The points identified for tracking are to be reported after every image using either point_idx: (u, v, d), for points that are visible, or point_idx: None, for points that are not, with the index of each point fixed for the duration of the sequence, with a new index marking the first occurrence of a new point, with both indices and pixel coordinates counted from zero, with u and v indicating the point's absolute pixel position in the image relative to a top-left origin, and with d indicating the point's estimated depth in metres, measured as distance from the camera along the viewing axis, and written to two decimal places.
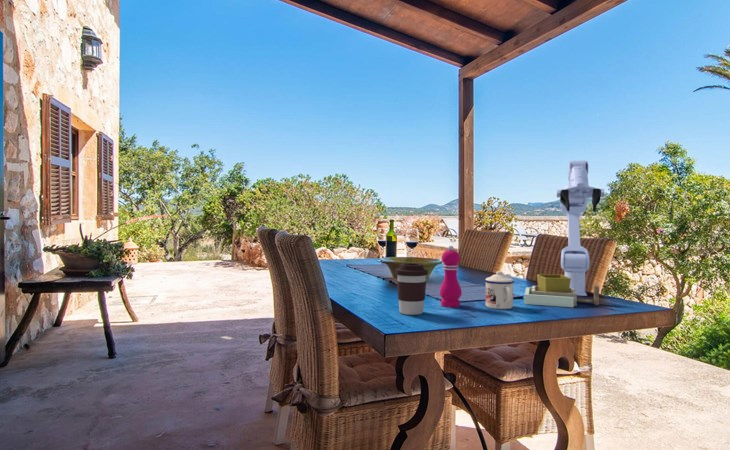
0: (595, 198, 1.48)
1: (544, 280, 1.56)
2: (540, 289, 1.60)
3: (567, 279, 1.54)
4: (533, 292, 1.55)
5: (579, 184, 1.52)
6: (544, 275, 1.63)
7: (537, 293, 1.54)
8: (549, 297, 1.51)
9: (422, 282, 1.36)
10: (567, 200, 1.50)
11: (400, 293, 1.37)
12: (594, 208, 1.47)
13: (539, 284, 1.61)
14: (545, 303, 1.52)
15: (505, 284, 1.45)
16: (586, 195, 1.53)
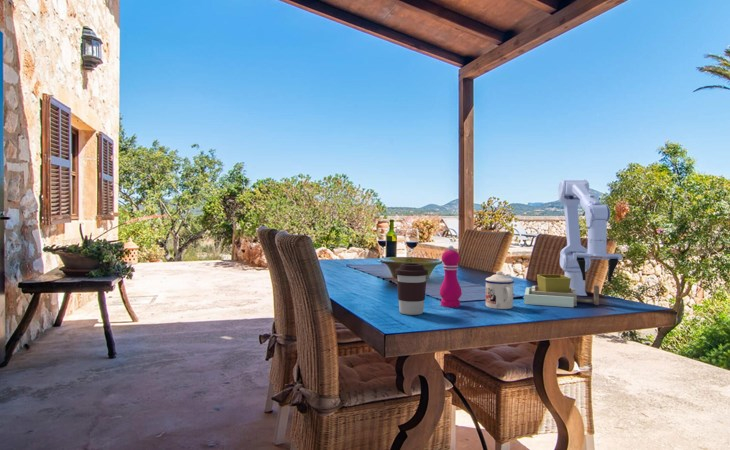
0: (611, 272, 1.51)
1: (544, 280, 1.56)
2: (540, 289, 1.60)
3: (567, 279, 1.54)
4: (533, 292, 1.55)
5: (596, 256, 1.50)
6: (544, 275, 1.63)
7: (537, 293, 1.54)
8: (549, 297, 1.51)
9: (422, 282, 1.36)
10: (583, 272, 1.54)
11: (400, 293, 1.37)
12: (609, 281, 1.52)
13: (539, 284, 1.61)
14: (545, 303, 1.52)
15: (505, 284, 1.45)
16: None
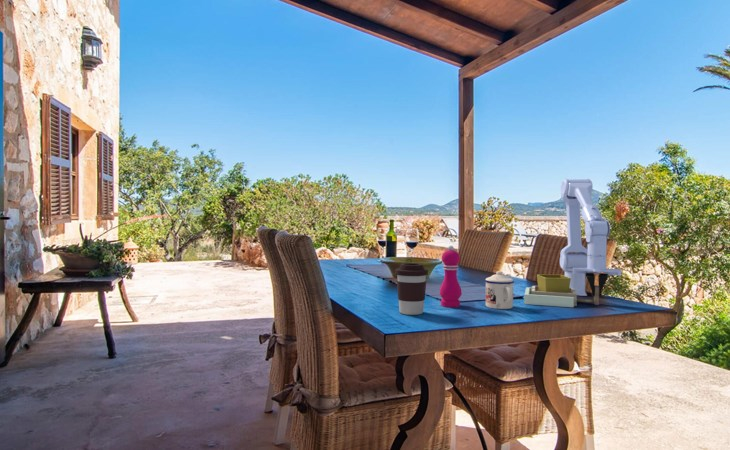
0: (601, 287, 1.52)
1: (544, 280, 1.56)
2: (540, 289, 1.60)
3: (567, 279, 1.54)
4: (533, 292, 1.55)
5: (596, 271, 1.51)
6: (544, 275, 1.63)
7: (537, 293, 1.54)
8: (549, 297, 1.51)
9: (422, 282, 1.36)
10: (593, 288, 1.53)
11: (400, 293, 1.37)
12: None
13: (539, 284, 1.61)
14: (545, 303, 1.52)
15: (505, 284, 1.45)
16: None
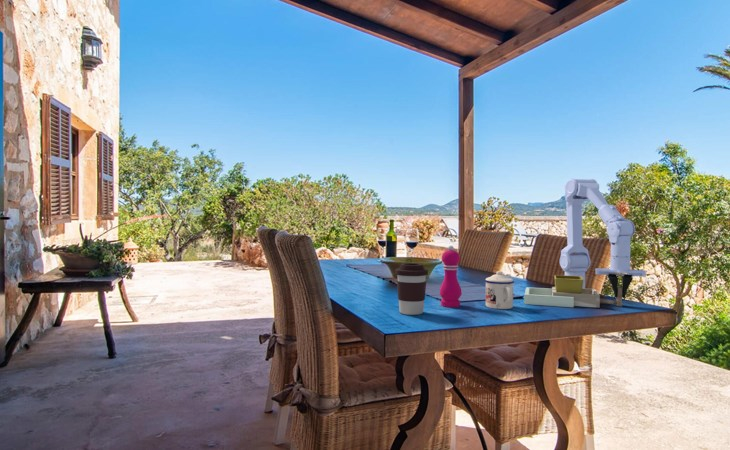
0: (625, 288, 1.49)
1: (555, 280, 1.54)
2: None
3: (579, 280, 1.51)
4: (555, 293, 1.52)
5: (620, 272, 1.48)
6: (562, 276, 1.60)
7: (559, 294, 1.52)
8: (549, 297, 1.51)
9: (422, 282, 1.36)
10: (615, 289, 1.50)
11: (400, 293, 1.37)
12: None
13: (555, 285, 1.59)
14: (545, 303, 1.52)
15: (505, 284, 1.45)
16: None
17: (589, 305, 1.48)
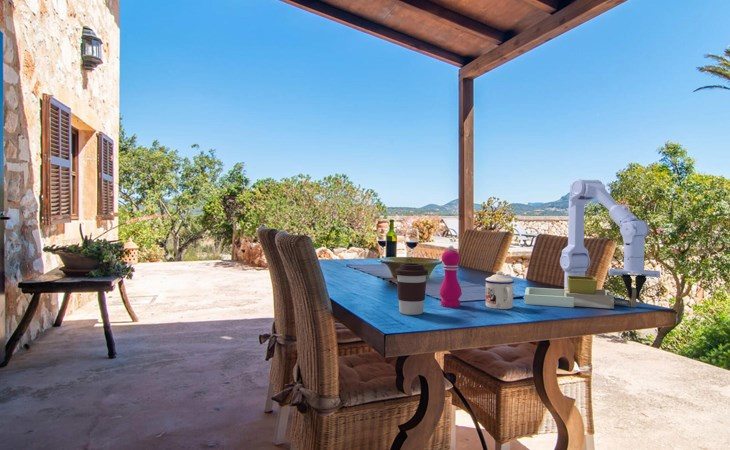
0: (639, 289, 1.48)
1: (568, 281, 1.53)
2: None
3: (593, 281, 1.49)
4: (568, 294, 1.51)
5: None
6: (575, 276, 1.59)
7: (572, 295, 1.50)
8: (549, 297, 1.51)
9: (422, 282, 1.36)
10: (629, 290, 1.49)
11: (400, 293, 1.37)
12: None
13: None
14: (545, 303, 1.52)
15: (505, 284, 1.45)
16: None
17: (603, 306, 1.47)
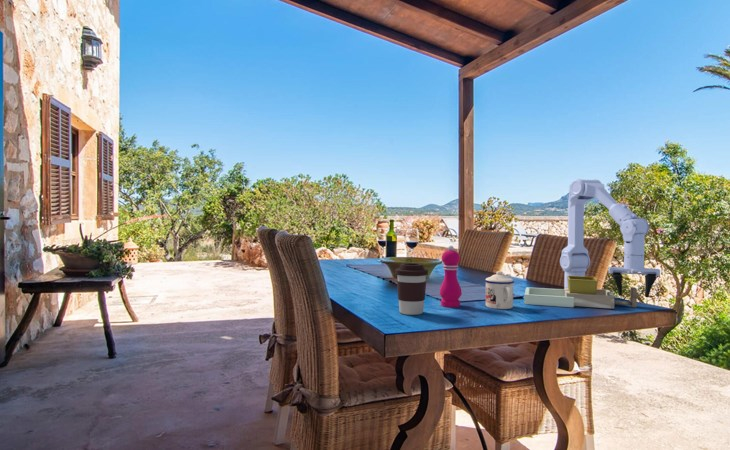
0: (649, 287, 1.47)
1: (568, 281, 1.53)
2: None
3: (593, 281, 1.49)
4: (568, 294, 1.51)
5: None
6: (575, 277, 1.59)
7: (573, 295, 1.50)
8: (549, 297, 1.51)
9: (422, 282, 1.36)
10: (620, 288, 1.50)
11: (400, 293, 1.37)
12: (646, 296, 1.48)
13: (568, 285, 1.58)
14: (545, 303, 1.52)
15: (505, 284, 1.45)
16: None
17: (603, 306, 1.47)
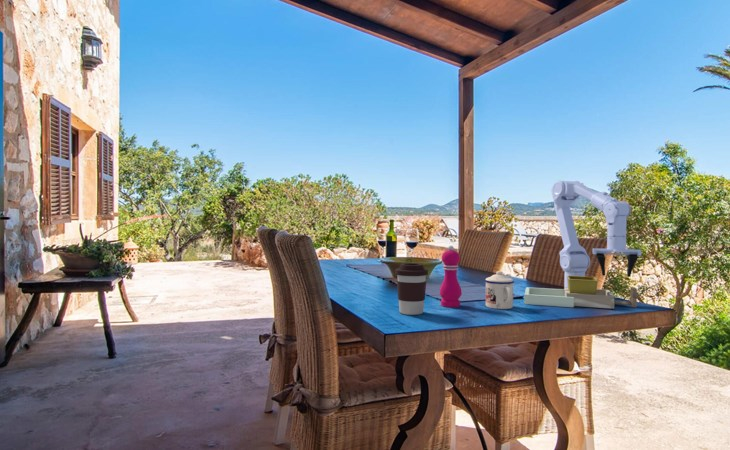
0: (631, 267, 1.53)
1: (568, 281, 1.53)
2: None
3: (593, 281, 1.49)
4: (568, 294, 1.51)
5: (616, 251, 1.53)
6: (575, 277, 1.59)
7: (573, 295, 1.50)
8: (549, 297, 1.51)
9: (422, 282, 1.36)
10: (603, 268, 1.56)
11: (400, 293, 1.37)
12: None
13: (568, 285, 1.58)
14: (545, 303, 1.52)
15: (505, 284, 1.45)
16: (622, 254, 1.55)
17: (603, 306, 1.47)
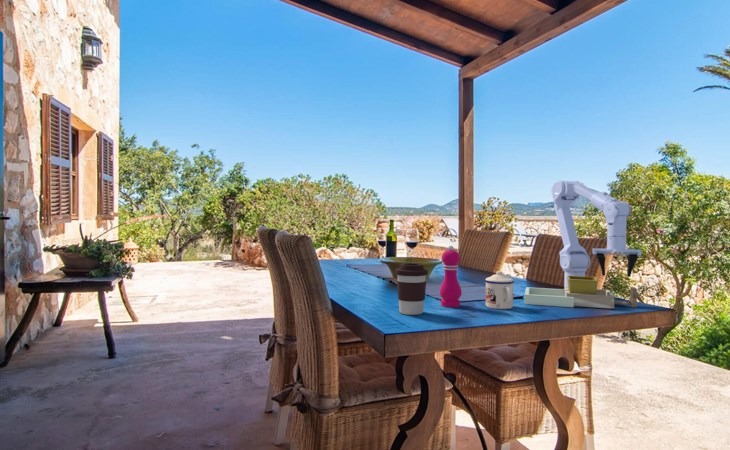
0: (631, 267, 1.53)
1: (568, 281, 1.53)
2: None
3: (593, 281, 1.49)
4: (568, 294, 1.51)
5: (616, 251, 1.53)
6: (575, 277, 1.59)
7: (573, 295, 1.50)
8: (549, 297, 1.51)
9: (422, 282, 1.36)
10: (603, 268, 1.56)
11: (400, 293, 1.37)
12: None
13: (568, 285, 1.58)
14: (545, 303, 1.52)
15: (505, 284, 1.45)
16: (622, 254, 1.55)
17: (603, 306, 1.47)
